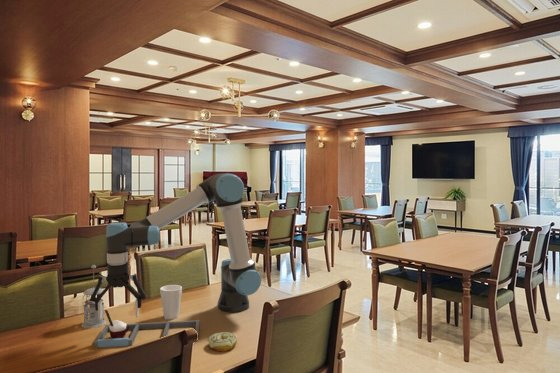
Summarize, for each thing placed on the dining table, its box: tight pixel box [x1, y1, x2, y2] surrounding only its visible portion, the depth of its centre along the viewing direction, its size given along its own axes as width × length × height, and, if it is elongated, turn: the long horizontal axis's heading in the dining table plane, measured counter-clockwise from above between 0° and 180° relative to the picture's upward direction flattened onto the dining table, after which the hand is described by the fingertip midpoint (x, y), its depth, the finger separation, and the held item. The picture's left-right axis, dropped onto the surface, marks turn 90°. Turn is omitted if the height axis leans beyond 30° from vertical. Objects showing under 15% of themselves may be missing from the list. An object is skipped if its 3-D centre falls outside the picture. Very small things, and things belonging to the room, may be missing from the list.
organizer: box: [93, 319, 200, 349], centre depth 157 cm, size 37×17×2 cm, turn 99°
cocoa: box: [104, 309, 130, 339], centre depth 155 cm, size 10×6×12 cm, turn 120°
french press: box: [81, 264, 107, 329], centre depth 169 cm, size 10×12×25 cm
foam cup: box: [159, 284, 183, 320], centre depth 178 cm, size 10×9×13 cm
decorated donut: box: [208, 331, 238, 352], centre depth 149 cm, size 10×11×4 cm
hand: (118, 317), depth 155 cm, fingers open, 13 cm apart
